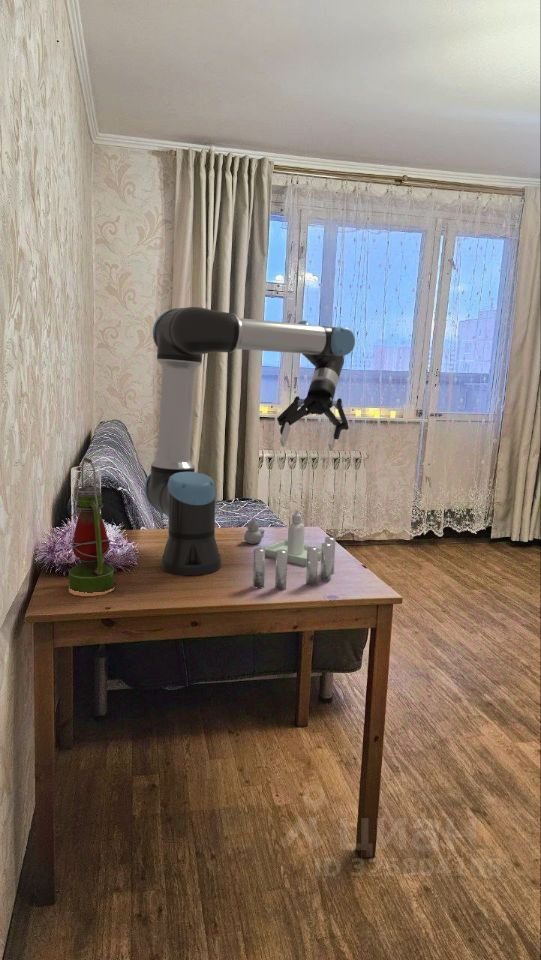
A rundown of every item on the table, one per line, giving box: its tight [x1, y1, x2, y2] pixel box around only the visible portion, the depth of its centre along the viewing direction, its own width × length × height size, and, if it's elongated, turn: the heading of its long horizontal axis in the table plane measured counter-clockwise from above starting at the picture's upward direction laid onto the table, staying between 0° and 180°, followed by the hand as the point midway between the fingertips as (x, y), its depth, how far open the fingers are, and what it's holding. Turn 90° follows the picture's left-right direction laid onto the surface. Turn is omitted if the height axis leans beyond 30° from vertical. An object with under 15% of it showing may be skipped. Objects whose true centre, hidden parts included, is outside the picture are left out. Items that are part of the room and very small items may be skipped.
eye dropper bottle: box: [287, 509, 306, 555], centre depth 171 cm, size 4×6×12 cm
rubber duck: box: [243, 516, 266, 545], centre depth 183 cm, size 5×7×8 cm
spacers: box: [252, 536, 336, 591], centre depth 151 cm, size 7×23×9 cm, turn 122°
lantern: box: [68, 457, 116, 593], centre depth 142 cm, size 14×11×30 cm
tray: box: [263, 539, 322, 567], centre depth 172 cm, size 14×11×2 cm
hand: (305, 445), depth 172 cm, fingers open, 13 cm apart
